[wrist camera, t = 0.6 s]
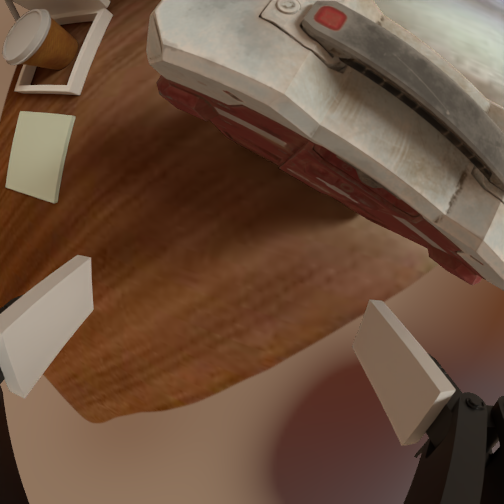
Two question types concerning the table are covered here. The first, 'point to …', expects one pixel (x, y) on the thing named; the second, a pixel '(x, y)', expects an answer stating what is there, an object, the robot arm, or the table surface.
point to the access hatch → (73, 11)
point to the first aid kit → (346, 114)
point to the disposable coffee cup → (39, 42)
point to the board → (39, 154)
